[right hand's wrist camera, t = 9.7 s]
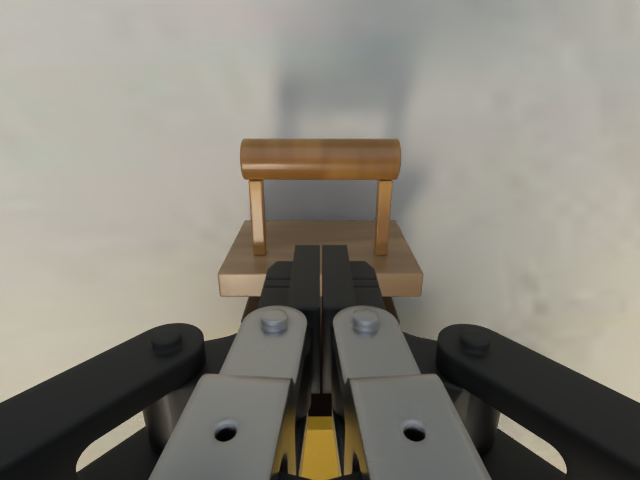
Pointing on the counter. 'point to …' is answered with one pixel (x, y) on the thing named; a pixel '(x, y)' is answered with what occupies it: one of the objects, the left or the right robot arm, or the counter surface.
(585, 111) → the counter surface
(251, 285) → the drawer
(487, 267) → the counter surface
